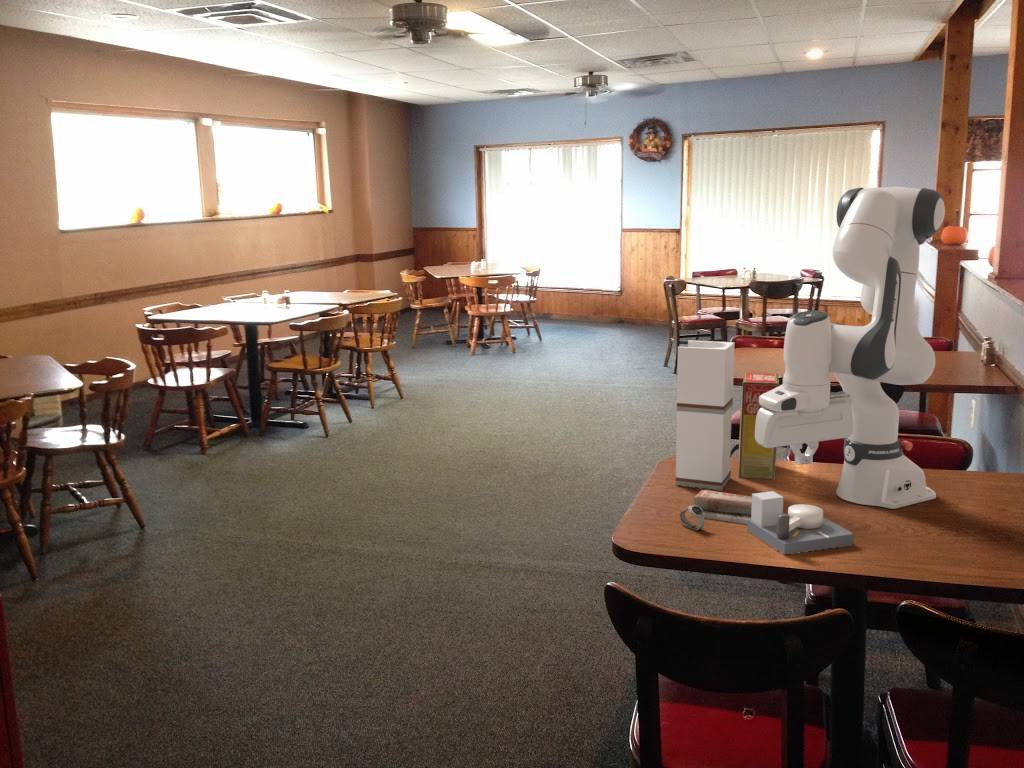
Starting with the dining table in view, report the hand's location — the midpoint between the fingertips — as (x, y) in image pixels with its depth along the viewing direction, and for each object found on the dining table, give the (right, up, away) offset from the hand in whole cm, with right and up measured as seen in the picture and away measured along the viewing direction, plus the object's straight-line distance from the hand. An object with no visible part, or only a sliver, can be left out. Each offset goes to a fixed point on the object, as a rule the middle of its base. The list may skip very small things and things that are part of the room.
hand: (803, 463), depth 175 cm
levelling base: (+2, -17, +10) cm, 20 cm away
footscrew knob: (+1, -14, +8) cm, 17 cm away
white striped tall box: (-9, -9, +48) cm, 50 cm away
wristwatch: (-18, -16, +18) cm, 30 cm away
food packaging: (+6, -7, +55) cm, 56 cm away
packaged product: (-7, -14, +25) cm, 30 cm away
